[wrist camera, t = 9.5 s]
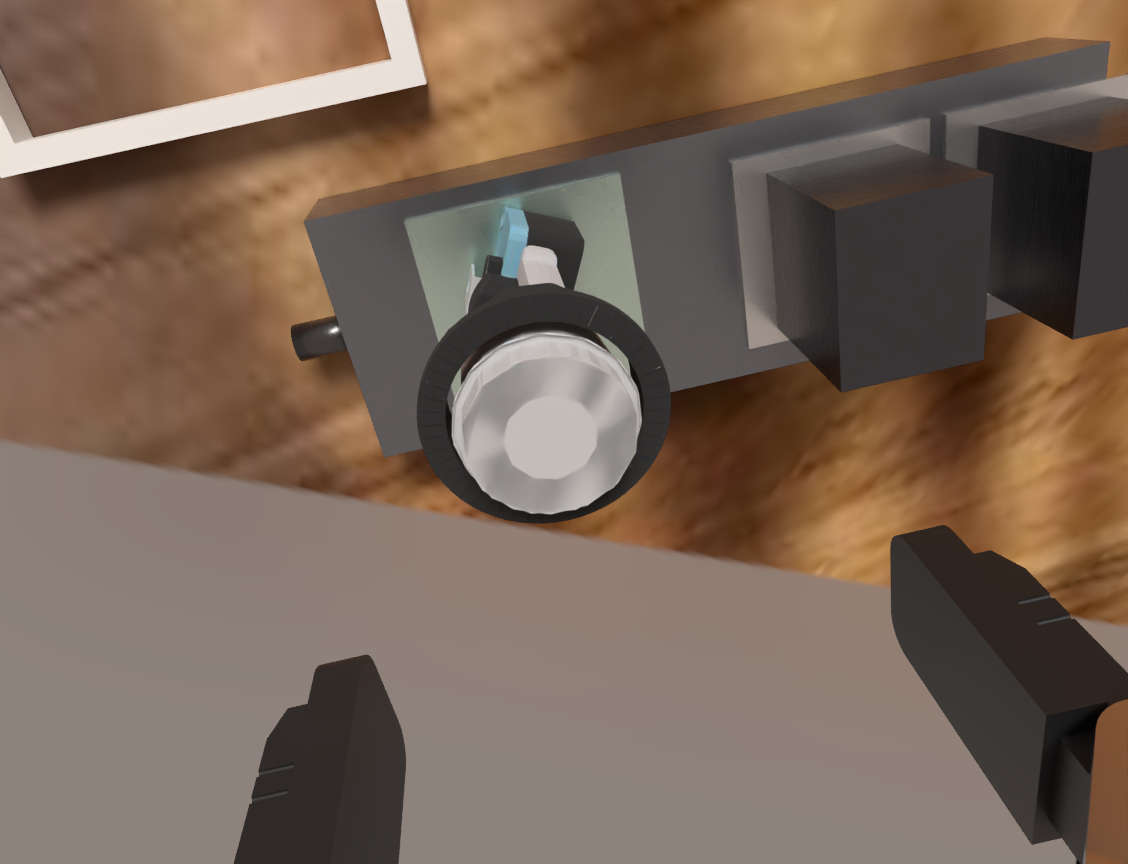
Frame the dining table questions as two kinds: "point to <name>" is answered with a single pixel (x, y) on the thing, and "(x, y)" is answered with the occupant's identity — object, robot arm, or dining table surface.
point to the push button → (541, 385)
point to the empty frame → (215, 106)
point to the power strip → (657, 219)
